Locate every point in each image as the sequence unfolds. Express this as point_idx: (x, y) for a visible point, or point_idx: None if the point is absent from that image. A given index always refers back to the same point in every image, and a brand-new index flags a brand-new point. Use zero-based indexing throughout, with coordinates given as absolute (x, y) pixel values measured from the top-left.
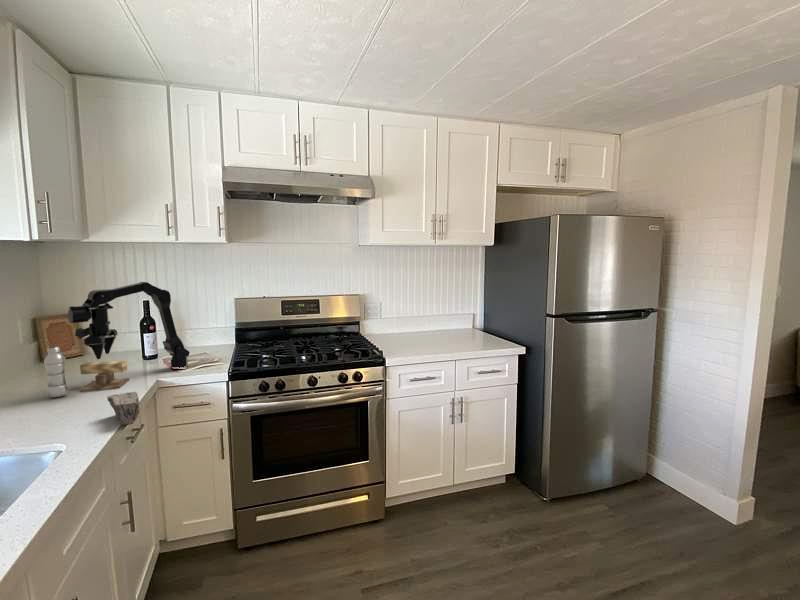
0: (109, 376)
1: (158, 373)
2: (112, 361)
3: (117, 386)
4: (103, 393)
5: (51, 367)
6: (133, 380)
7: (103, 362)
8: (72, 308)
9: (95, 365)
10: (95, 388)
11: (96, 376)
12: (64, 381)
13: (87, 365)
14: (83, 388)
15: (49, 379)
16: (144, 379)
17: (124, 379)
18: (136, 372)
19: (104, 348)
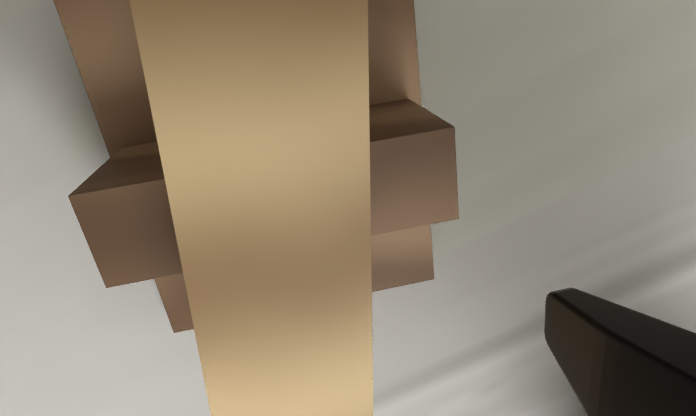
0: None
1: (561, 387)
2: (368, 359)
3: (170, 319)
4: (33, 261)
5: None
6: (408, 306)
7: (321, 252)
8: None
9: (170, 182)
10: (108, 145)
11: (76, 207)
12: None
13: (140, 20)
14: (91, 5)
15: None
16: (418, 371)
17: (388, 267)
18: (660, 211)
19: (667, 380)
